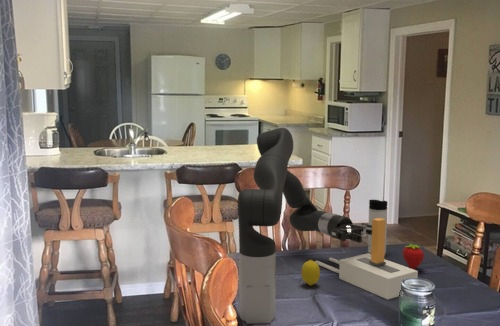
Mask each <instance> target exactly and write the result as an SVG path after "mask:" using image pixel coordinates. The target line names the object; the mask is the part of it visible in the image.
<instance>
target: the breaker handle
mask: <svg viewBox="0 0 500 326" xmlns="http://www.w3.org/2000/svg"><path fill="white" fill-rule="evenodd" d="M385 220H386V219H382V218H376V219H372V244H371V261H369V263H371V264H374V265H376V266H381V265H385V264H386V262H384V259H385V256H384V251H385Z"/></svg>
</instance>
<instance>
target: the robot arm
mask: <svg viewBox="0 0 500 326" xmlns="http://www.w3.org/2000/svg"><path fill="white" fill-rule="evenodd" d="M256 145H257V146H256V147H257V150H258V153H259V155H260V156H259V158H258V159H257V161H256V164H255V166H254V170H253V181H254V182H255V184H256V186H257V189H255V188H245V189H244V188H243V189H242V190H241V191H240V192H239V194H238V198H237V219H238V220H237V221H238V242H239V243H238V251H239V252H238V253H239V255H238V256H239V258H238V259H239V261H238V262H239V263H238V265H239V266H238V268H239V269H238V271H239V273H238V274H239V276H238V277H239V280H238V281H239V283H238V284H239V290H238V291H239V294H238V296H239V318H240V320H242V321H243V322H245V323H246V325H247V324H248V325H249V324H251V325H252V324H253V325H254V324H271V323H272V321H273V320H275V318H276V251H277V250H276V247H277V246H276V241H275V240H274V239H273V238H271V237H270V236H266V235H264V234H263V233H260V232H259V231H257V230H256V229H255V228H254V227H273V226H276V225H278V223H280V219H281V217H282V210H283V197H284V199H285V201H286V204H287V205H288V207H290V208H292V209H295V210H293V212H291V214H290V216H289V218H288V219H289V223H290V225H291V227H292V228H294V229H295V230H297V231H300V232H319V233H322V234H324V235H325V236H328V237H330V238H333V239H336V240H339V241H341V242H345V241H346V240H347V241H348V242H349V241H350V242H351V241H352V242H355V243H360V244H361V243H362V242H363V239H362V238H366V237H368V236H372V225H369V223H364V222H363V223H361V224H358V223H353V221H352V219H351V218H350V217H347V216H344V215H340V214H337V213H331V212H326V211H323V210H318V208H317V207H316V205H315V204H314V203H313V202H312V201H311V200H310V199H309V197H308V195H307V194H306V192H305V189H304V187H303V184H302V182H301V180H300V179H299V178H298V177H297V176H296V174H294V173H293V172H290V170H288V168H289V162H290V159H291V157H292V155H293V152H294V139H293V135H292V133H291V132H290V130H289V129H288V128H286V127H279V128H278V127H277V128H275V129H270V130H267V131H264V132H261V133H259V134H258V135H257V137H256Z"/></svg>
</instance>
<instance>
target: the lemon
mask: <svg viewBox="0 0 500 326" xmlns="http://www.w3.org/2000/svg"><path fill="white" fill-rule="evenodd" d="M320 276H321V270H320V265H318V264H317V263H316V262H315V261H314V260H312V259H309V260H308V261H306V262H304V263H303V265H302V267H301V278H302V280H303V282H304V283H306V284H308V286H310V287H311V286H313V285H314V284H317V283H318V282H319V279H320V278H321V277H320Z"/></svg>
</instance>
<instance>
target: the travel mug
mask: <svg viewBox="0 0 500 326" xmlns="http://www.w3.org/2000/svg"><path fill="white" fill-rule="evenodd" d="M368 202H369V203H368V205H369V206H368V225H372V219H376V218H382V219H386V220H385V251H384V257H385V256H386V254H387V234H388V233H387V231H388V228H387V227H388V201H387V200H379V199H369V201H368ZM371 244H372V236H367V253H369V254H371Z"/></svg>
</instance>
